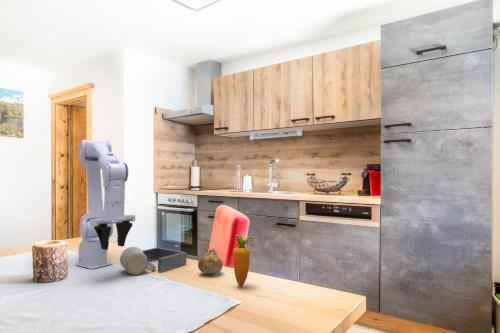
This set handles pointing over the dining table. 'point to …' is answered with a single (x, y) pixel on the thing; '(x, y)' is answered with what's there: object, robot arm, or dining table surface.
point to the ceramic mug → (135, 261)
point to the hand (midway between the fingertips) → (113, 247)
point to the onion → (210, 263)
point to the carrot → (241, 260)
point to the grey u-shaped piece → (166, 258)
